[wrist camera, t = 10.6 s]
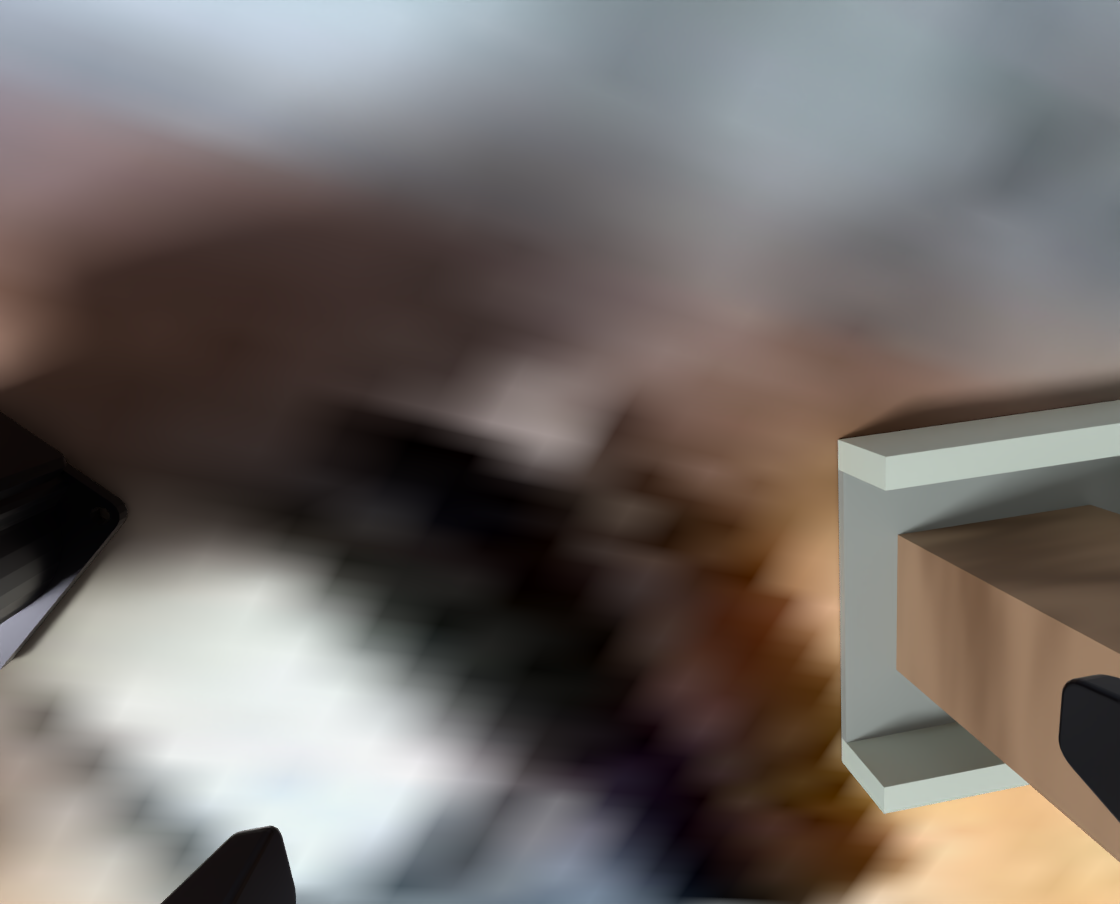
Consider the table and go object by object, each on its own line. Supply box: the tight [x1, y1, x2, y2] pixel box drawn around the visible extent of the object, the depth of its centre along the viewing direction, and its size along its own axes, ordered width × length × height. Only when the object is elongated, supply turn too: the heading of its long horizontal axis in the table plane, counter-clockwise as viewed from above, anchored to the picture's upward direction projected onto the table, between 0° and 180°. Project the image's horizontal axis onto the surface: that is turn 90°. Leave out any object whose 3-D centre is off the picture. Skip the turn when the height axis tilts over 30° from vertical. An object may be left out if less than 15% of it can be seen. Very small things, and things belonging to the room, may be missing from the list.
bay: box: [838, 400, 1120, 814], centre depth 21 cm, size 12×12×2 cm
